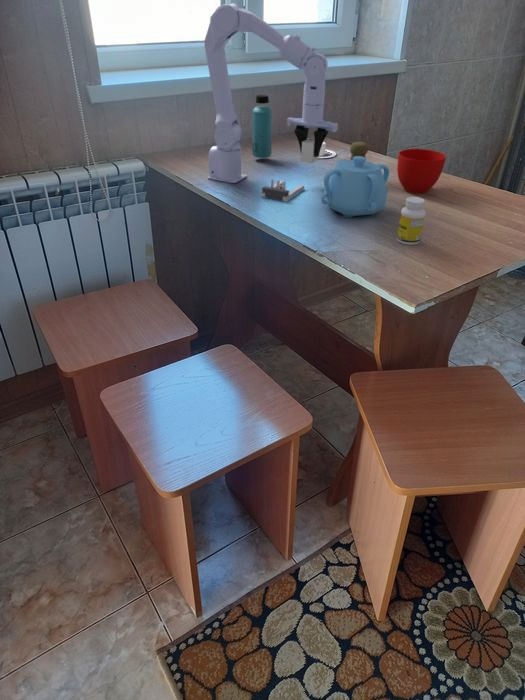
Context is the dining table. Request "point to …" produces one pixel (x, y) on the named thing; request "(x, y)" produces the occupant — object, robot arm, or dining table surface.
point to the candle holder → (323, 149)
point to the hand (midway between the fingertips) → (309, 155)
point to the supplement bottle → (411, 221)
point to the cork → (358, 149)
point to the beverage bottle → (262, 128)
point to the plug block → (308, 151)
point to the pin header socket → (279, 191)
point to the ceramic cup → (419, 169)
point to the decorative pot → (356, 187)
